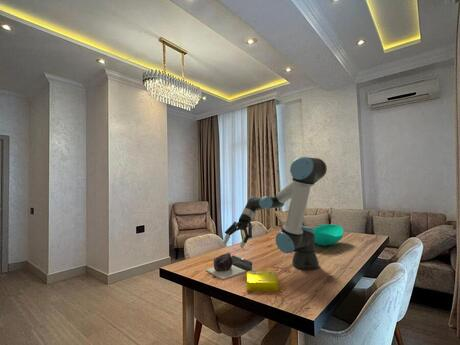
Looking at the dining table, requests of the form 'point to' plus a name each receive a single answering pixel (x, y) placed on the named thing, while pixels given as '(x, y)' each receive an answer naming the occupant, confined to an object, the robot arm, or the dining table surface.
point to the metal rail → (242, 263)
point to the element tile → (262, 281)
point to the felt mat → (226, 272)
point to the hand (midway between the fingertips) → (232, 245)
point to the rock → (223, 262)
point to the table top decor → (328, 234)
